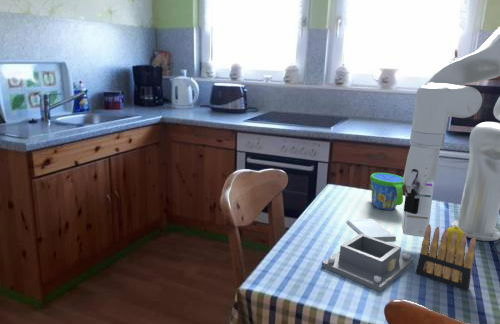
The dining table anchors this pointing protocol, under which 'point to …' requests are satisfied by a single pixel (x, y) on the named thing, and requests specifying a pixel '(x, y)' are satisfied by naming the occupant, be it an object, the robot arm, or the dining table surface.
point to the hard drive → (371, 229)
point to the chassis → (369, 262)
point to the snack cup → (386, 190)
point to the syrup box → (419, 212)
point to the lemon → (450, 233)
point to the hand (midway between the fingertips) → (417, 207)
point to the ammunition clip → (446, 259)
